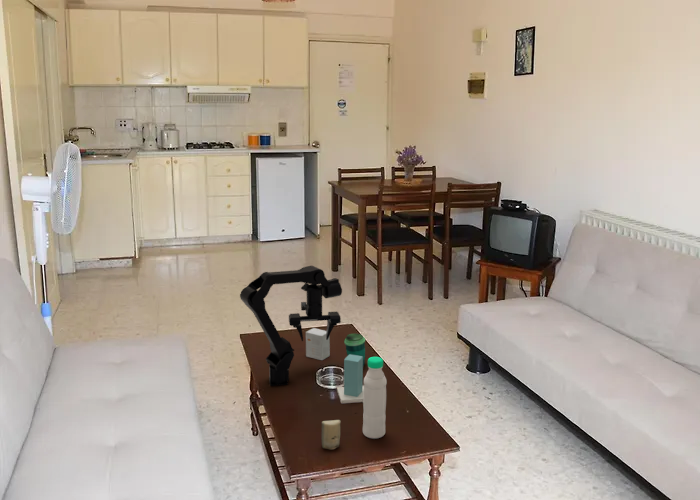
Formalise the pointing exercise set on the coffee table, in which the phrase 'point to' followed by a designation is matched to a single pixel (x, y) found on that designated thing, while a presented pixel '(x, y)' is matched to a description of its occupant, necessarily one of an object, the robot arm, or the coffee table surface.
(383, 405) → the water bottle
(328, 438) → the power adapter
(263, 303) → the robot arm
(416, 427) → the coffee table surface
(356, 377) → the teal block
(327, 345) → the small box
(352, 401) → the cream tile
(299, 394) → the coffee table surface
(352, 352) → the cup
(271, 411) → the coffee table surface
